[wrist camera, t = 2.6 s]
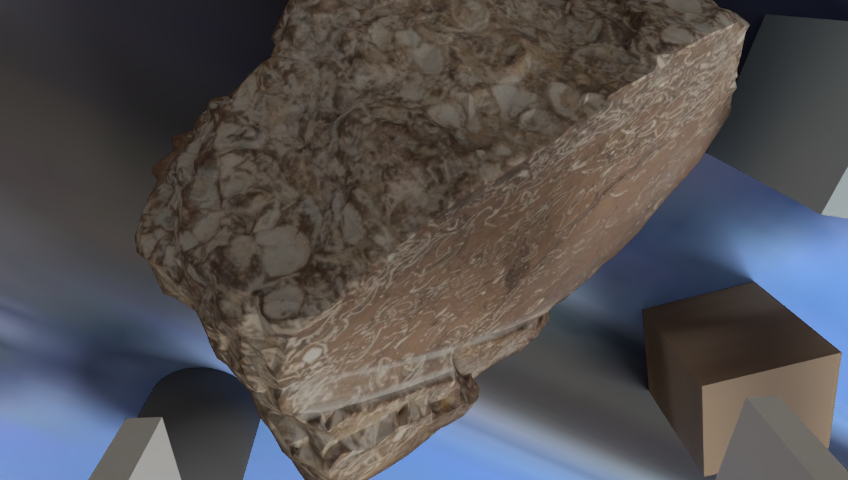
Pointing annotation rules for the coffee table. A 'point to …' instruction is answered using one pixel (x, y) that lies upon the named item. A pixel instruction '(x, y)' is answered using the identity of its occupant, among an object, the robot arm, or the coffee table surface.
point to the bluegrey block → (793, 112)
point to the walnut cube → (735, 366)
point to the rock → (423, 198)
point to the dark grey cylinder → (205, 422)
